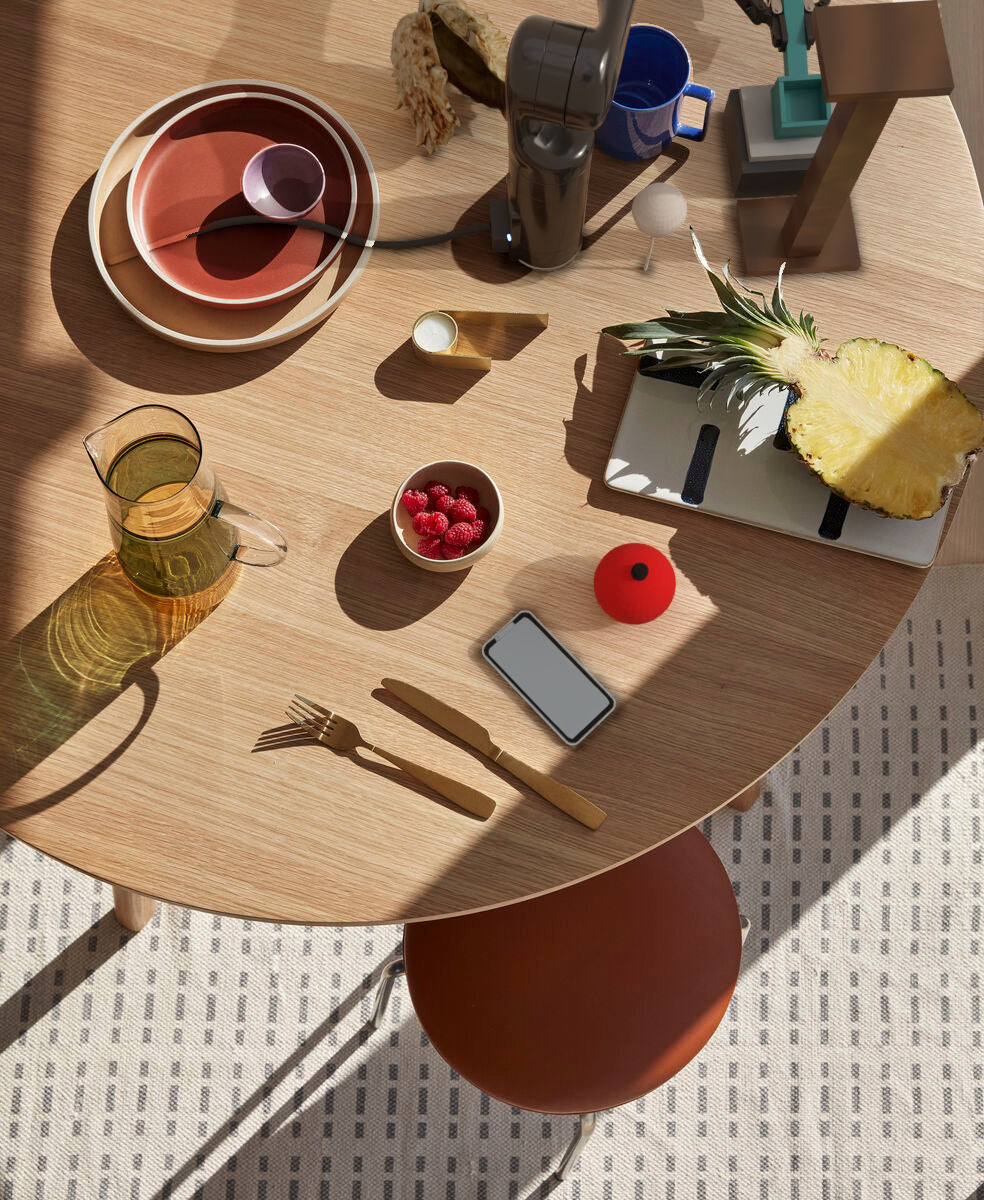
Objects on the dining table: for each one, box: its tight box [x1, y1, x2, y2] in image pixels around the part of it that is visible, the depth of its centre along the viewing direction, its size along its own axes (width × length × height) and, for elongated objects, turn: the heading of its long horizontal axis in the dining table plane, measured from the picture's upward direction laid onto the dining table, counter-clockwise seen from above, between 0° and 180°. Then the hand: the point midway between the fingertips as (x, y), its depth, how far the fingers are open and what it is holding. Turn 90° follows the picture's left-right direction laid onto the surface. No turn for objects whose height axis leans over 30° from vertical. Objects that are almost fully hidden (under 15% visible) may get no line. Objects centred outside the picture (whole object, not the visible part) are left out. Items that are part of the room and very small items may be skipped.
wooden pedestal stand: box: [734, 0, 956, 278], centre depth 121 cm, size 14×10×32 cm
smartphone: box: [481, 609, 617, 747], centre depth 122 cm, size 7×1×15 cm
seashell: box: [389, 0, 509, 156], centre depth 133 cm, size 18×18×15 cm
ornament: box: [592, 542, 677, 626], centre depth 120 cm, size 9×9×10 cm
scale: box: [721, 84, 837, 199], centre depth 136 cm, size 14×12×6 cm
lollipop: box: [631, 182, 688, 271], centre depth 128 cm, size 6×6×15 cm
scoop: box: [771, 0, 832, 140], centre depth 131 cm, size 6×17×4 cm, turn 4°
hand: (796, 45), depth 131 cm, fingers closed on scoop, 2 cm apart
